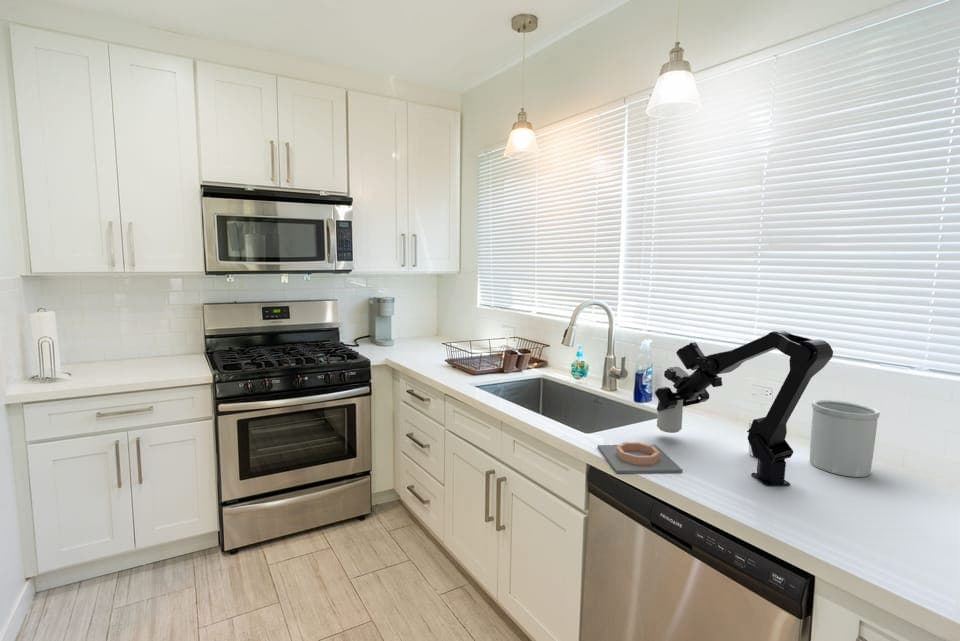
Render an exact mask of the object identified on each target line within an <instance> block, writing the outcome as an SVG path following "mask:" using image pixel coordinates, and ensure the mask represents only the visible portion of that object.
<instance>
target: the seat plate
mask: <svg viewBox="0 0 960 641" xmlns="http://www.w3.org/2000/svg"><path fill="white" fill-rule="evenodd" d="M597 449H598V450H599V452H600V453H601V454H602V456H603V458H604V459H605V460H606V461H607V463H608V464H609V465H610V467H611V468H612V469H613V470H614V472H615V473H616V474H683V469H682V468H681V467H680V466H679V465H678V464H677V463H676V462H675V461H674V460H673V459H671V458H670V457H669V455H667V453H665V452H664V451H663V450H662V449H661V448H660V447H659V446H658V445H657V444H647V443H643V442H639V441H636V442H635V441H633V442H631V441H628V442H627V441H624V442H621V443H619V444H606V445H605V444H598V445H597ZM673 472H675V473H673Z"/></svg>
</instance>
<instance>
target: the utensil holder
mask: <svg viewBox="0 0 960 641" xmlns="http://www.w3.org/2000/svg"><path fill="white" fill-rule="evenodd" d="M811 408H812V415H811V417H812V419H811V427H810V428H811V430H810V443H809V444H810V445H809V462H810V464H811V465H813V466H814V467H816V468H817V469H819V470H822V471H825V472H828V473H831V474H835V475H838V476H839V475H840V476H845V477H851V478H852V477H853V478H854V477H855V478H863V477H867V476H870V474H871V470H872V464H873V459H874V451H875V443H876V436H877V429H878V420H879V417H880V416H881V415H880V414H881V412H880V410H879V409H877V408H876V407H873V406H870V405H867V404H863V403H858V402H853V401H848V400H841V399H838V400H837V399H828V398H821V399H820V398H819V399H814V400H813V401H812V403H811Z"/></svg>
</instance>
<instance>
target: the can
mask: <svg viewBox="0 0 960 641" xmlns="http://www.w3.org/2000/svg"><path fill="white" fill-rule="evenodd" d="M672 392H673V393H677V392H676V391H672ZM659 402H660V401H659V399H658V398H657V405H658V404H659ZM683 408H684V407H683V400H680V401H678V402H677V405H676V406H675V408H671V409H667V410H663V411H658V410H657V411H656V412H657V414H656V427H657V428H658V429H659V430H660V431H661V432H665V433H669V434H672V433H674V434H675V433H679V432H680V431H681V430H682V429H683V427H682V426H683V412H684V411H683V410H684V409H683Z"/></svg>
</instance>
